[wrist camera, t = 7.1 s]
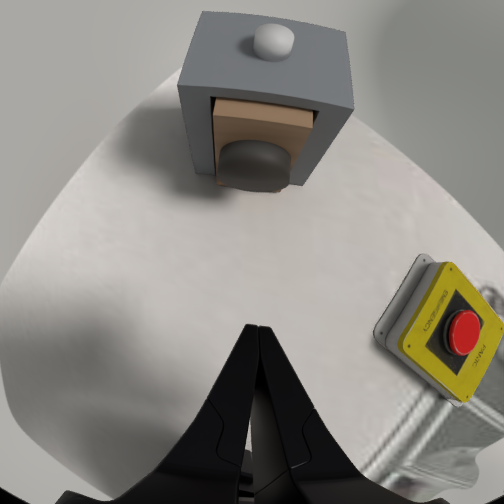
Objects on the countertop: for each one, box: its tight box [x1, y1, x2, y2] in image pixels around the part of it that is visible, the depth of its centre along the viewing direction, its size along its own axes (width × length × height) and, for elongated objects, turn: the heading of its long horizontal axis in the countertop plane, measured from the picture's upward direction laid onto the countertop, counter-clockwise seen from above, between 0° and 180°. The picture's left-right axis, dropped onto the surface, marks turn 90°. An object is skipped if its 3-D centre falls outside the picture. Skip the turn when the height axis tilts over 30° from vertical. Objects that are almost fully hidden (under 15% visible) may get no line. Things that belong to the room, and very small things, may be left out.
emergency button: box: [374, 254, 504, 407], centre depth 22 cm, size 9×4×15 cm
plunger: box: [213, 97, 313, 192], centre depth 20 cm, size 6×5×10 cm
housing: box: [177, 11, 354, 186], centre depth 19 cm, size 6×9×13 cm
